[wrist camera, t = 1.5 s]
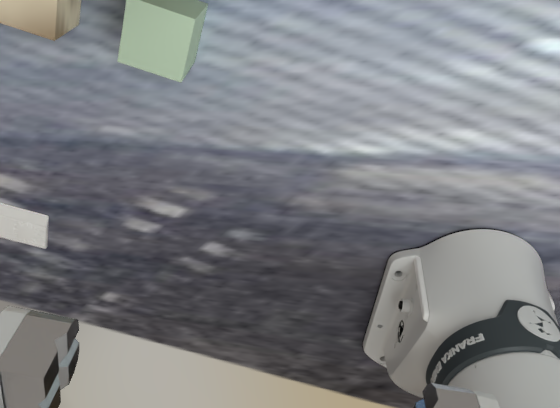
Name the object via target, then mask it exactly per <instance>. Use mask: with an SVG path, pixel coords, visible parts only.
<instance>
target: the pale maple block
mask: <svg viewBox="0 0 560 408" xmlns="http://www.w3.org/2000/svg"><path fill="white" fill-rule="evenodd" d="M80 8H81V0H0V23H2V24H5V25H8V26H11V27H14V28H17V29H20V30H23V31H26V32H29V33H32V34H35V35H38V36H41V37H44V38H47V39H50V40H53V41H55V40H57V39H58V38H60V37H61V36H63V35H64V34H66V33H67V32H69V31H70V30H72V29H73V28H75V27H76V26H78V25H79V19H80Z"/></svg>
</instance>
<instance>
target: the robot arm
mask: <svg viewBox="0 0 560 408" xmlns="http://www.w3.org/2000/svg"><path fill="white" fill-rule="evenodd" d="M396 271H401V272H398V273H397V272H396ZM554 310H555V305H554V302H553V299H552V297H551V295H550V293H549V292H548V290H547V287H546V282H545V277H544V269H543V264H542V261H541V259H540V256H539V255H538V253H537V252H536V250H535V249H534V248H533V247H532V246H531V245H530V244H529V243H527V242H526V241H524V240H523V239H521V238H519V237H517V236H515V235H512V234H510V233H506V232H503V231H498V230H489V229H476V230H467V231H461V232H457V233H453V234H450V235H447V236H445V237H442V238H440V239H438V240H436V241H434V242H432V243H430V244H428V245H426V246H424V247H421V248H416V249H410V250H404V251H400V252H397V253H394V254H393V255H391V256H390V258H389V260H388V263H387V266H386V269H385V272H384V276H383V279H382V282H381V285H380V289H379V292H378V295H377V298H376V302H375V305H374V308H373V312H372V315H371V318H370V321H369V325H368V328H367V331H366V334H365V338H364V341H363V348H364V352H365V353H366V354H367V355H368V356H369V357H370V358H371V359H372V360H374V361H375V362H377V363H378V364H380V365H382V366H384V367H386V368H387V371H388V374H389V376H390V378H391V380H392V381H393V382H394V383H395V384H396V385H397V386H398V387H400V388H401V389H403V390H405V391H407V392H409V393H411V394H413V395H416V396H419V397H421V398H424V399H423V400H420V401H418V402H416V403H415V405H414V407H413V408H560V327H559V325H558V322H557V319H556V316H555V313H554ZM78 331H79V324H78V320H77V319H72V318H67V317H62V316H58V315H53V314H48V313H43V312H38V311H34V310H28V309H23V308H18V307H13V306H7V307H6V308H5V309H4V310H2V311H1V312H0V408H58V407H59V405H60V402H61V398H60V390H61V389H63V388H64V387H65V386H67V385H69V383H70V381H71V378H72V376H73V374H74V371H75V367H76V364H77V361H78V354H79V342H78V341H77V340H76V339H75V337H76V335H77V333H78Z"/></svg>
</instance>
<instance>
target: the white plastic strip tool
mask: <svg viewBox="0 0 560 408" xmlns="http://www.w3.org/2000/svg"><path fill="white" fill-rule="evenodd" d="M48 220H49V216H47V215H43V214H40V213H36V212H32V211H29V210H25V209H21V208H17V207H14V206H10V205H6V204H3V203H0V238H1V237H3V238H4V239H5V238H6V239H7V240H8V239H10V240H11V241H12V240H14V241H15V242H16V241H18V242H21V243H25V244H29V245H33V246H36V247H40V248H44V249H46V247H47V239H48Z"/></svg>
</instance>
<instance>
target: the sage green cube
mask: <svg viewBox="0 0 560 408" xmlns="http://www.w3.org/2000/svg"><path fill="white" fill-rule="evenodd" d="M207 6H208V4H207V3H204V2H201V1H198V0H126V6H125V13H124V20H123V27H122V34H121V41H120V48H119V55H118V62H120V63H123V64H126V65H129V66H132V67H135V68H138V69H141V70H144V71H147V72H150V73H153V74H156V75H159V76H162V77H166V78H169V79H172V80H175V81H178V82H182V81H183V79H184V78H185V76H186V75H187V73H188V72H189V70H190V69H191V67H192V65H193V64H194V62H195V58H196V54H197V50H198V45H199V41H200V37H201V32H202V28H203V24H204V19H205V15H206V11H207Z"/></svg>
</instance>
